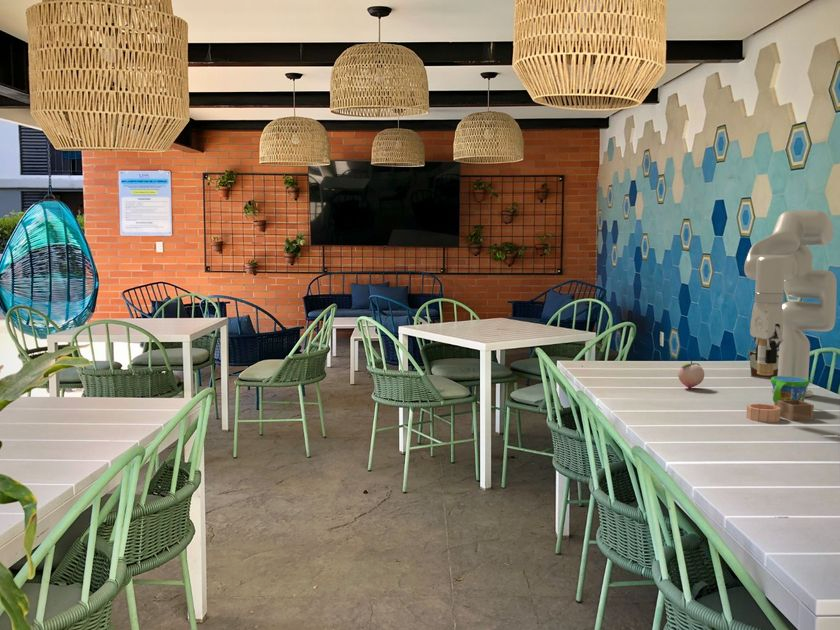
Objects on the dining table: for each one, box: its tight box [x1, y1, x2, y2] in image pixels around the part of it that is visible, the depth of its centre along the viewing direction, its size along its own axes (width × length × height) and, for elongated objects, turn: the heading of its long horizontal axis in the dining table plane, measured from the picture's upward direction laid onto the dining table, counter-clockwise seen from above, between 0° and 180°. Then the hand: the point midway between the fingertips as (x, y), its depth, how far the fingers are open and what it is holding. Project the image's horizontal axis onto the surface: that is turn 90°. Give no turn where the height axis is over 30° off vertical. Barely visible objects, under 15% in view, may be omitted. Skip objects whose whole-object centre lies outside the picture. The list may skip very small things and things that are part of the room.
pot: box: [745, 403, 781, 423], centre depth 239 cm, size 9×9×4 cm
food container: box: [747, 349, 779, 379], centre depth 312 cm, size 12×6×10 cm, turn 58°
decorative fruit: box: [677, 360, 705, 389], centre depth 287 cm, size 9×8×10 cm
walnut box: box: [777, 400, 815, 422], centre depth 240 cm, size 7×7×5 cm
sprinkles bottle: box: [757, 337, 774, 376], centre depth 237 cm, size 5×5×13 cm
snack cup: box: [770, 376, 810, 406], centre depth 251 cm, size 16×10×10 cm
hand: (765, 361), depth 237 cm, fingers closed on sprinkles bottle, 4 cm apart
